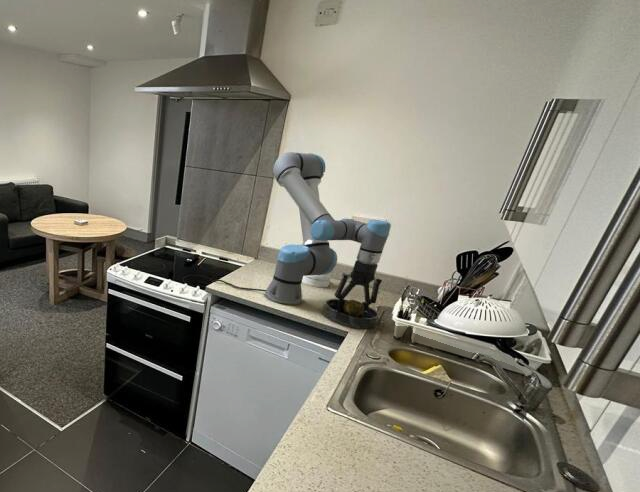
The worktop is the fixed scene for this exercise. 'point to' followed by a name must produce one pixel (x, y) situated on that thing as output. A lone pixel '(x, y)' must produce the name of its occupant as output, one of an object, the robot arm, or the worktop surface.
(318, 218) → the robot arm
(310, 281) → the honey pot
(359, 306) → the potato
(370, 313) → the pan
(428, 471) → the worktop surface
